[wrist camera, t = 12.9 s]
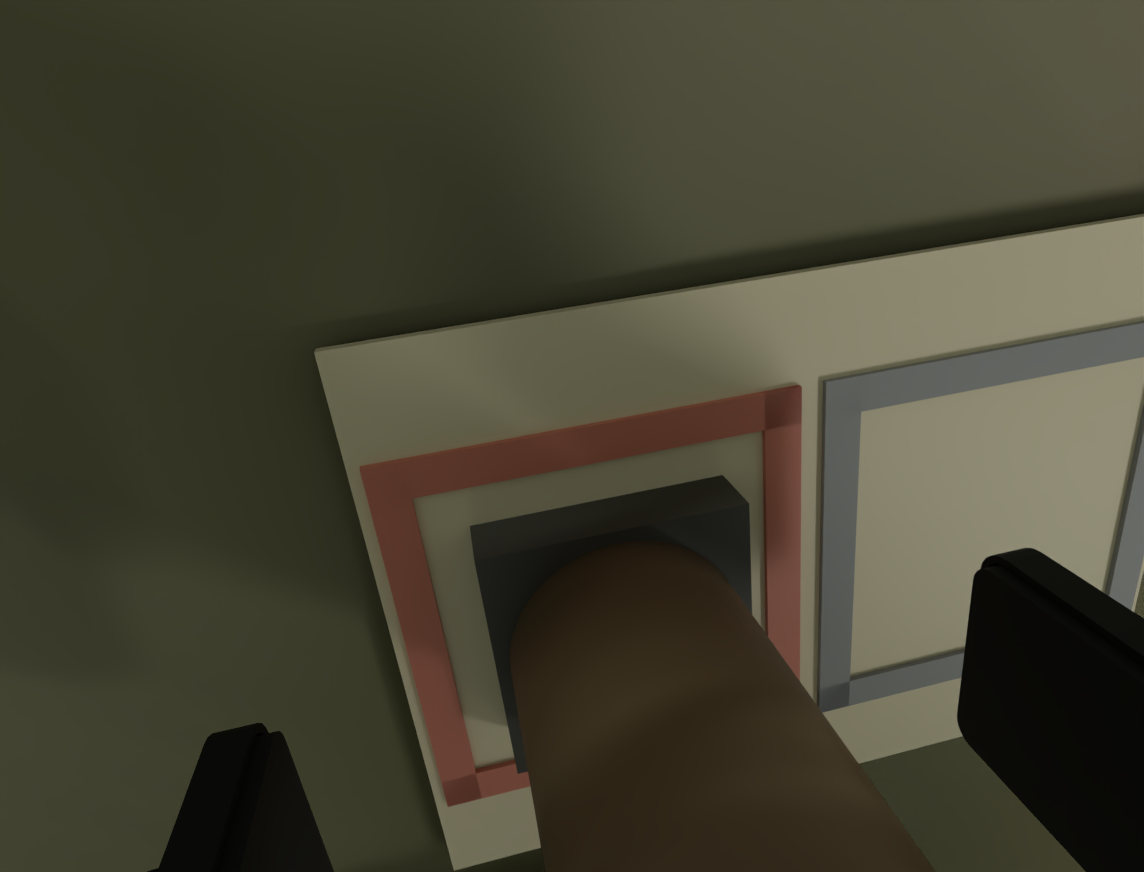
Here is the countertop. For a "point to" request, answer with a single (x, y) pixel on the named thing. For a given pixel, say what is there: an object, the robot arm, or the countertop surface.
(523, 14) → the countertop surface
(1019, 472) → the card sheet
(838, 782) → the stamp
